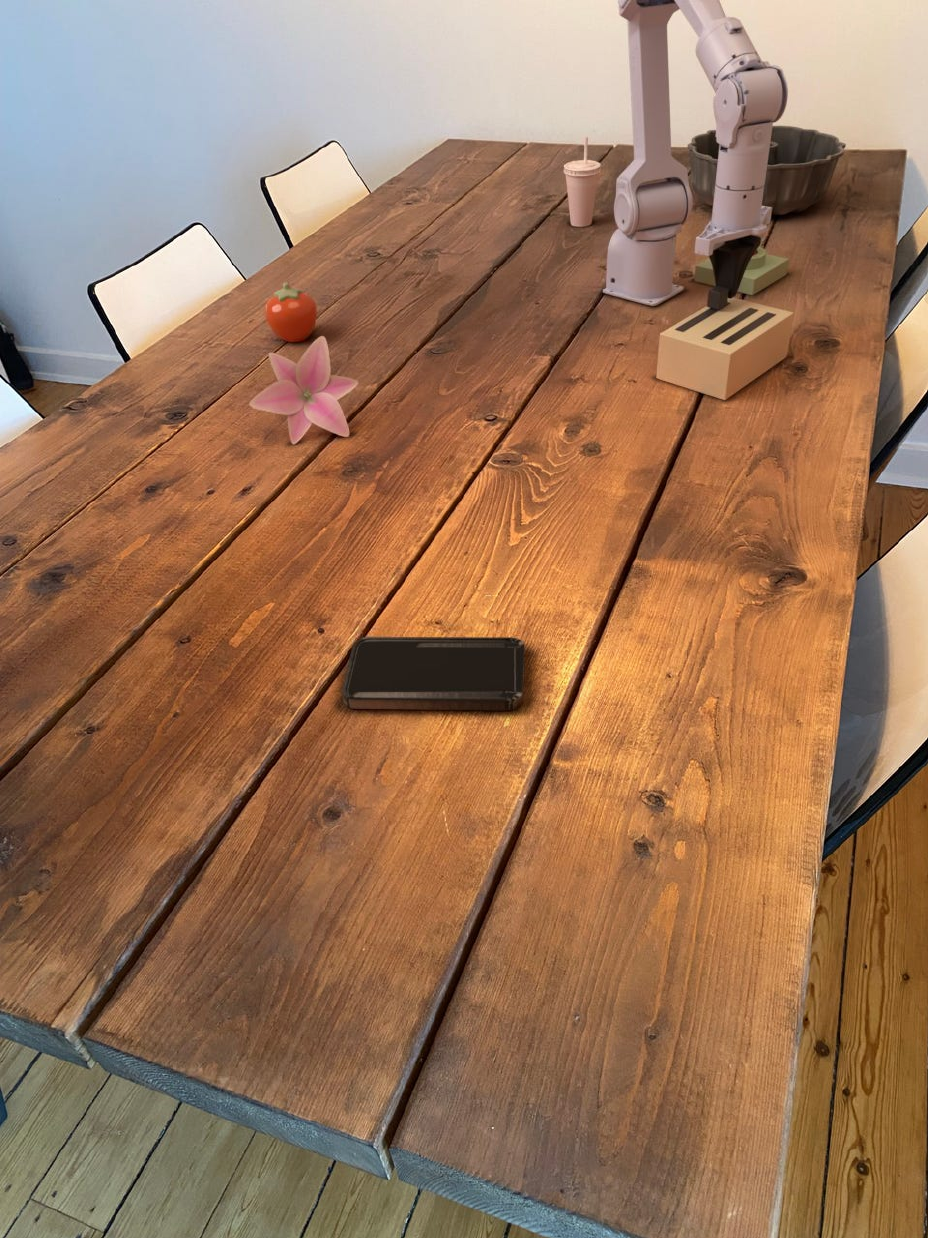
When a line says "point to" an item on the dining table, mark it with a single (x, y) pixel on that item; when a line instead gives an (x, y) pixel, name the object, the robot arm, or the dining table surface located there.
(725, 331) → the toaster
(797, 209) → the bundt pan
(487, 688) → the phone
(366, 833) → the dining table surface
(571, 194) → the smoothie
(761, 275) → the green button base
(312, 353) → the lily
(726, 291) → the slider
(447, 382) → the dining table surface
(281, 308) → the tomato
